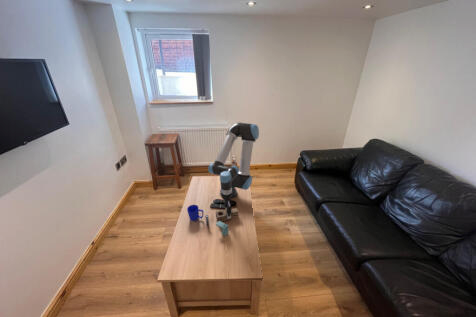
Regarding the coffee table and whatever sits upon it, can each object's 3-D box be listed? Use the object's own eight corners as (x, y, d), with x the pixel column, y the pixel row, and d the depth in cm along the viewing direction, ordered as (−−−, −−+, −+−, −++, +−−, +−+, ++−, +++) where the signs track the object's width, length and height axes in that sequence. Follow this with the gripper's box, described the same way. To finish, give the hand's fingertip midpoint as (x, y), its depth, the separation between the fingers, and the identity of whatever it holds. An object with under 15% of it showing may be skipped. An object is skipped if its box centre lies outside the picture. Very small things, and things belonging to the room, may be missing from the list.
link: (236, 211, 151) (236, 206, 148) (238, 217, 145) (238, 212, 143) (215, 216, 146) (215, 211, 144) (217, 222, 141) (217, 217, 139)
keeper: (219, 228, 138) (218, 220, 135) (228, 232, 135) (228, 225, 131) (216, 231, 136) (215, 223, 132) (225, 236, 132) (225, 228, 129)
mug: (202, 223, 142) (200, 213, 138) (187, 221, 145) (185, 211, 140) (206, 215, 149) (204, 206, 145) (191, 213, 152) (189, 203, 147)
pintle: (207, 223, 143) (206, 214, 139) (209, 224, 142) (208, 216, 138) (205, 224, 141) (204, 216, 138) (207, 225, 140) (206, 217, 137)
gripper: (218, 186, 140) (220, 210, 152) (224, 200, 127) (226, 225, 138) (228, 184, 142) (230, 207, 154) (235, 198, 128) (236, 223, 140)
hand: (228, 216), depth 146 cm, fingers closed on link, 3 cm apart
